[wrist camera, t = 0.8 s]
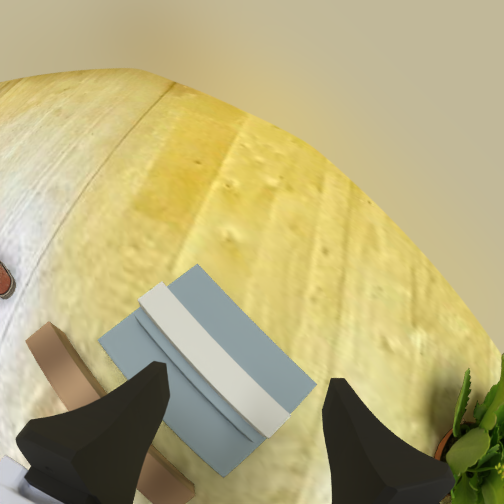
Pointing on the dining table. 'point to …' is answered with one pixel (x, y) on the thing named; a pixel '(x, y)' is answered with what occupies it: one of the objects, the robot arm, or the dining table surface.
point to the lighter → (6, 282)
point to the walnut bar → (89, 390)
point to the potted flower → (477, 448)
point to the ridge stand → (210, 368)
